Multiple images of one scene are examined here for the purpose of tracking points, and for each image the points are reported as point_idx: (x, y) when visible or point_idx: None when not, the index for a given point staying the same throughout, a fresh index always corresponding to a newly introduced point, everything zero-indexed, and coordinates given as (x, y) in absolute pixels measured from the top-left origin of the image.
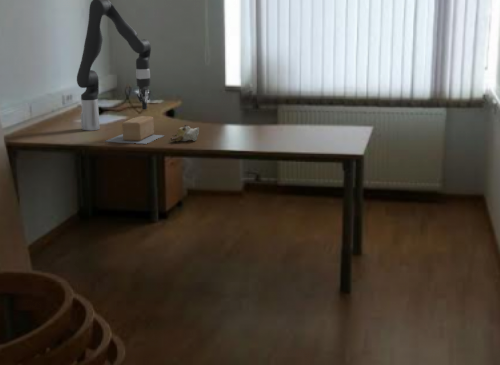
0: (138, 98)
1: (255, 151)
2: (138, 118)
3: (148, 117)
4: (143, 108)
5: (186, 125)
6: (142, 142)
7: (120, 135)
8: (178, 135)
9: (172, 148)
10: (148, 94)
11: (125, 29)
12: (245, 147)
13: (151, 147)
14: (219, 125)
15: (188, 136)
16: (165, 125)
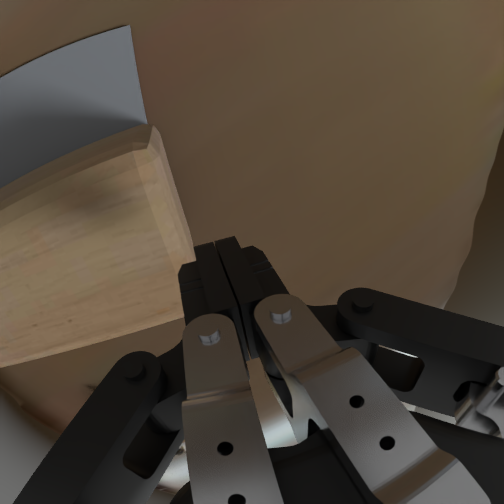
0: (60, 437)
1: (174, 489)
2: (39, 281)
3: (133, 319)
4: (197, 264)
5: (181, 453)
6: None
7: (47, 65)
8: None
9: (56, 421)
10: (435, 401)
11: None
12: None
13: (8, 377)
14: (439, 305)
15: None
16: (437, 123)
